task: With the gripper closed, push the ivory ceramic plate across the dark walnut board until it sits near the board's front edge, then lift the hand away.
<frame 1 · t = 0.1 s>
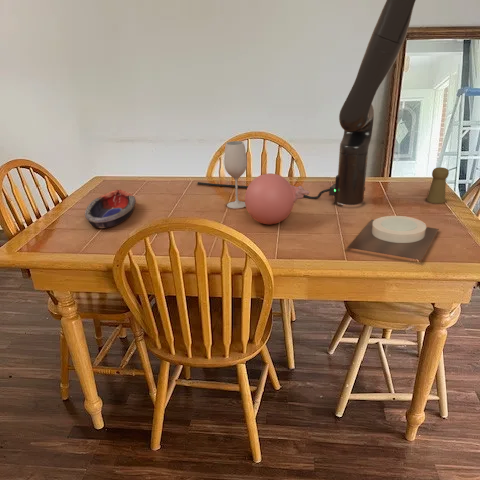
wineglass: (237, 205, 174), on the table
plate: (397, 233, 145), point 1 cm above the table, touching board
board: (394, 241, 143), on the table
olive pepper mill: (435, 201, 171), on the table
dish: (113, 216, 170), on the table
balloon: (276, 223, 159), on the table
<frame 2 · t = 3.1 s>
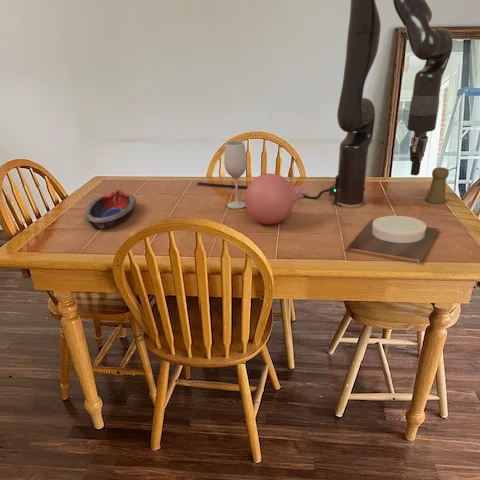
hand: (414, 174, 147), 15 cm above the table, tool pointing down, fingers closed
nothing on the table moved.
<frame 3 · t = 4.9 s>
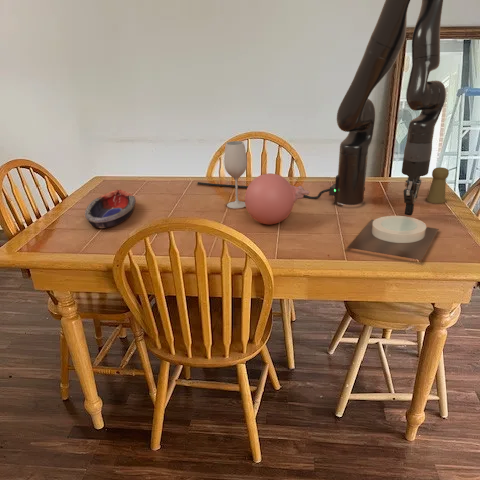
hand: (408, 214, 154), 3 cm above the table, tool pointing down, fingers closed
nothing on the table moved.
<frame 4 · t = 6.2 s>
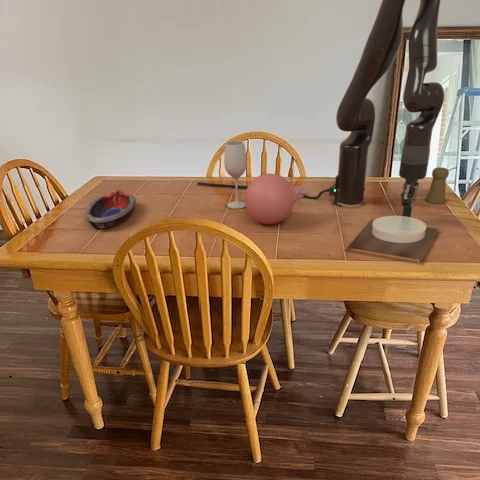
hand: (406, 218, 151), 3 cm above the table, tool pointing down, fingers closed
plate: (397, 233, 145), point 1 cm above the table, touching board, gripper
everything else where it was.
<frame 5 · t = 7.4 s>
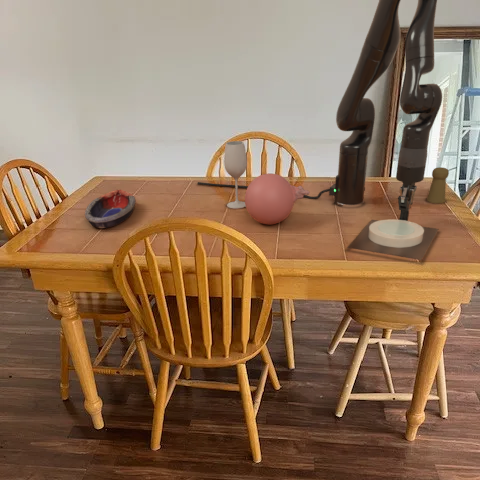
hand: (403, 221, 148), 3 cm above the table, tool pointing down, fingers closed
plate: (395, 237, 143), point 1 cm above the table, touching gripper
everything else where it was.
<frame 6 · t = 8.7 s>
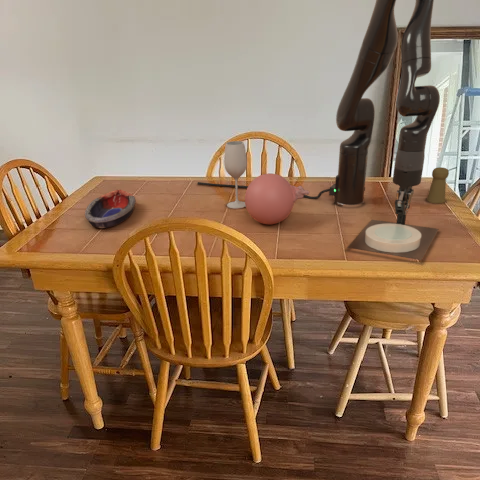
hand: (400, 225, 146), 3 cm above the table, tool pointing down, fingers closed
plate: (392, 241, 140), point 1 cm above the table, touching gripper
everything else where it was.
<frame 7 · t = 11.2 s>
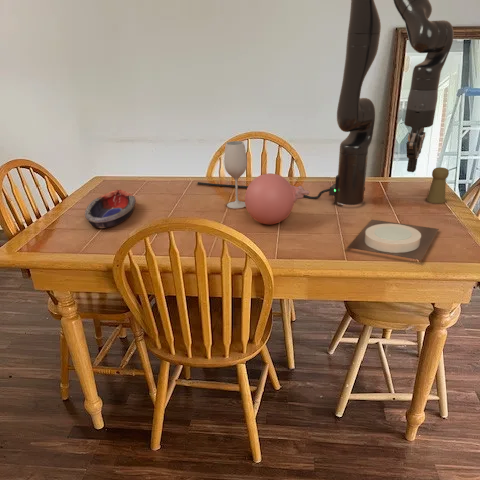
hand: (411, 171, 144), 17 cm above the table, tool pointing down, fingers closed
plate: (391, 242, 140), point 1 cm above the table, touching board
everything else where it was.
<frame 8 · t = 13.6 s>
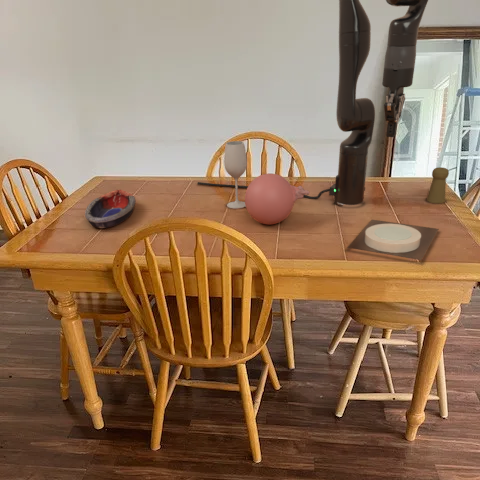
hand: (390, 136, 136), 27 cm above the table, tool pointing down, fingers closed
nothing on the table moved.
at the end: plate 0.5 cm from the target spot on the board, point 1.0 cm above the board's base; plate tilted 0°; plate moved 7.3 cm from its start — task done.
